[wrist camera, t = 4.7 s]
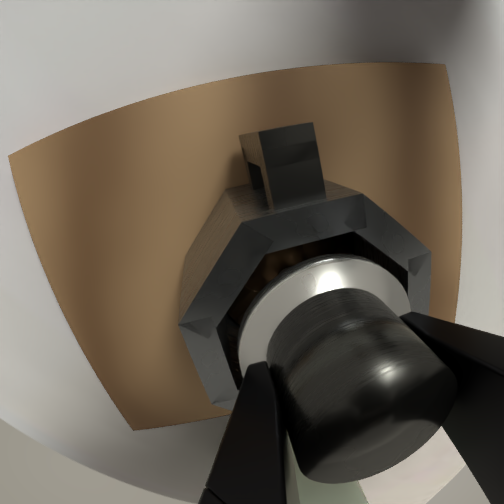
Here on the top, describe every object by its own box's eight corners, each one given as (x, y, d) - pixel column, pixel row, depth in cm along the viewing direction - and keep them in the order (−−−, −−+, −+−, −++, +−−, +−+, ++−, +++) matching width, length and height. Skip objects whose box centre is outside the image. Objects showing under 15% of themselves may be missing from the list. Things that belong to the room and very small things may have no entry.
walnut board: (434, 66, 11) (445, 64, 10) (444, 328, 16) (452, 335, 15) (18, 154, 10) (8, 155, 9) (134, 419, 15) (133, 430, 14)
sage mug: (330, 393, 16) (389, 512, 9) (335, 466, 19) (372, 552, 12) (204, 426, 16) (218, 558, 8) (242, 491, 19) (260, 582, 11)
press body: (342, 116, 11) (420, 109, 6) (365, 314, 14) (420, 377, 9) (157, 155, 10) (126, 166, 6) (218, 357, 13) (229, 442, 9)
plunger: (340, 202, 10) (500, 291, 4) (352, 313, 12) (454, 444, 6) (209, 235, 10) (229, 394, 4) (241, 346, 12) (282, 515, 5)
